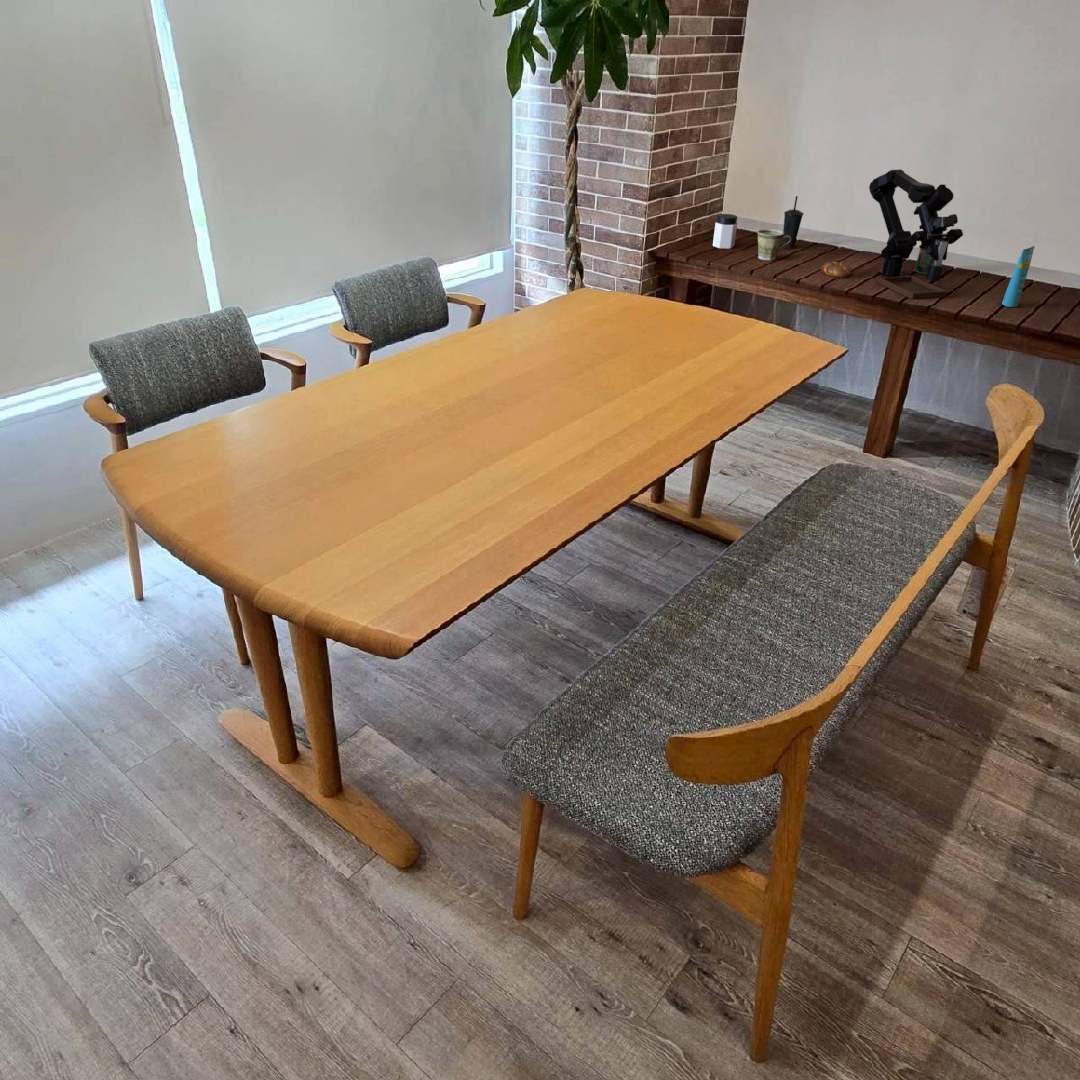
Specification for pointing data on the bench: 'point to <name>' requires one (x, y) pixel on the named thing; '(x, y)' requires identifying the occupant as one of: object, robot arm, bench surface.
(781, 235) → the ceramic cup
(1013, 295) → the tube
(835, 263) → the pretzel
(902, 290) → the tray
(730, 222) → the jar
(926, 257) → the canned tomato
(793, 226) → the drinking cup
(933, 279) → the dark cylinder
